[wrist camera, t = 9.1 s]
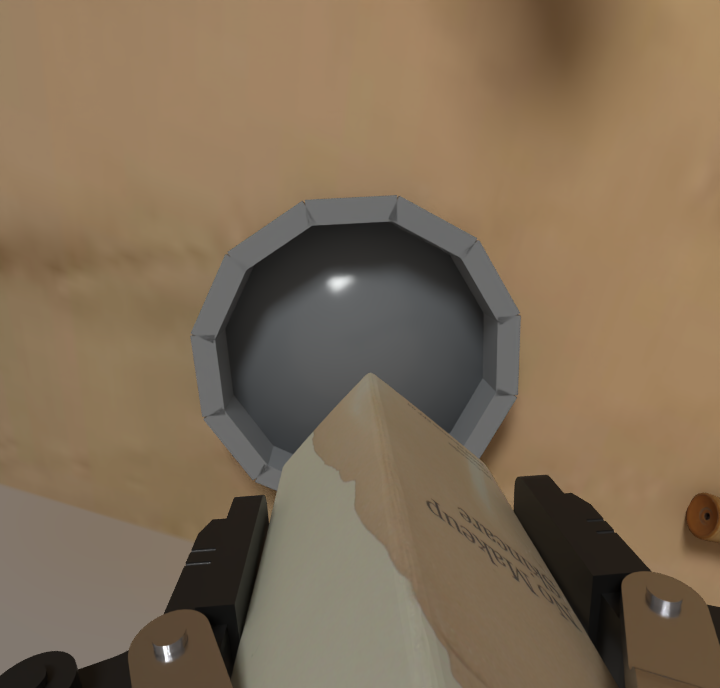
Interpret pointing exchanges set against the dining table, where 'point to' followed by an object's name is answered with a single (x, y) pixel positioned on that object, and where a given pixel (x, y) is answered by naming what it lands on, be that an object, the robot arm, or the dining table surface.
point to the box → (403, 568)
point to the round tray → (353, 327)
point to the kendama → (704, 517)
